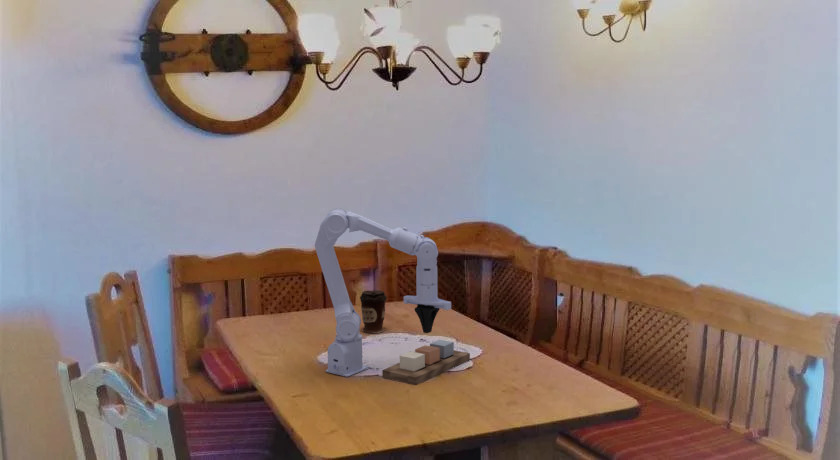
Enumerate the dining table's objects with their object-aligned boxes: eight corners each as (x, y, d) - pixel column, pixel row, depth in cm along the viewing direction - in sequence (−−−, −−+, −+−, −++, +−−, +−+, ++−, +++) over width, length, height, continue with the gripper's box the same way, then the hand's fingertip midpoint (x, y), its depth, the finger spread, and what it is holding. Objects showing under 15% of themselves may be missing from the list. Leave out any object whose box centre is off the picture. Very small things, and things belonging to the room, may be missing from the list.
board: (415, 385, 206) (415, 377, 206) (382, 377, 213) (382, 370, 212) (469, 360, 227) (469, 353, 227) (437, 353, 234) (437, 347, 233)
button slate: (444, 358, 222) (444, 346, 221) (429, 355, 225) (429, 343, 224) (453, 354, 226) (453, 342, 225) (439, 351, 229) (439, 339, 228)
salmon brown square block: (429, 364, 216) (429, 352, 216) (415, 361, 219) (415, 349, 219) (439, 360, 220) (439, 348, 220) (425, 357, 223) (425, 345, 222)
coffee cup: (374, 336, 253) (373, 295, 251) (354, 332, 258) (354, 292, 256) (391, 330, 260) (391, 291, 258) (372, 326, 265) (371, 288, 263)
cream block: (414, 371, 211) (414, 358, 210) (399, 368, 213) (399, 355, 213) (424, 366, 215) (424, 354, 214) (410, 363, 217) (410, 351, 217)
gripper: (457, 283, 216) (457, 332, 218) (414, 277, 224) (414, 325, 226) (442, 288, 210) (443, 338, 212) (398, 282, 218) (399, 330, 220)
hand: (427, 332), depth 219 cm, fingers closed
